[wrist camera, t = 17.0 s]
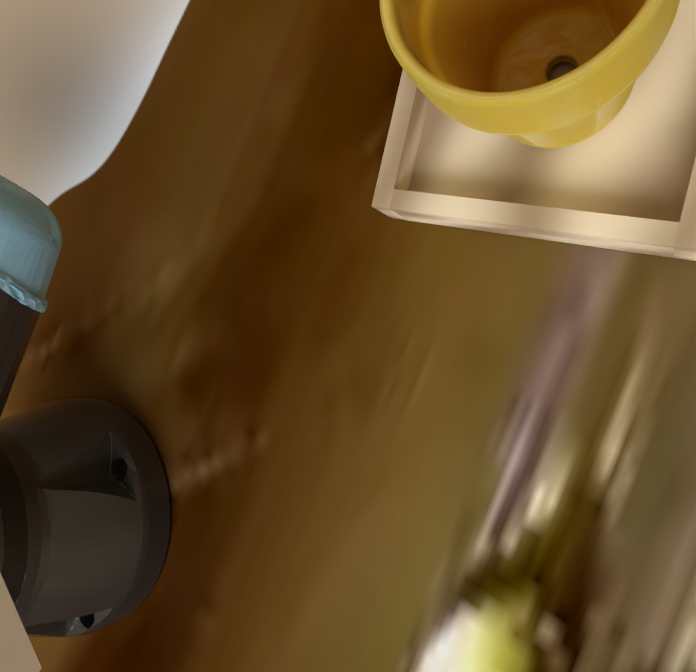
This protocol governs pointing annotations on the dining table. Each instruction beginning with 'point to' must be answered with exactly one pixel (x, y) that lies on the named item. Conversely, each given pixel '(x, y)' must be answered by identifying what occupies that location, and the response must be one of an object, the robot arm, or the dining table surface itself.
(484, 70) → the plant pot
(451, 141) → the birch tray
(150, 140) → the dining table surface
